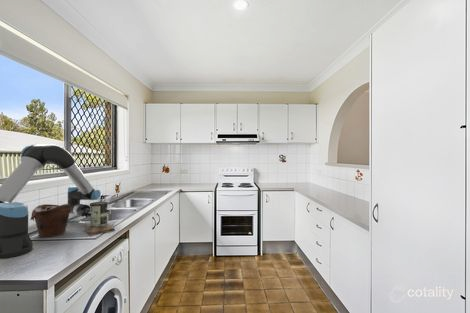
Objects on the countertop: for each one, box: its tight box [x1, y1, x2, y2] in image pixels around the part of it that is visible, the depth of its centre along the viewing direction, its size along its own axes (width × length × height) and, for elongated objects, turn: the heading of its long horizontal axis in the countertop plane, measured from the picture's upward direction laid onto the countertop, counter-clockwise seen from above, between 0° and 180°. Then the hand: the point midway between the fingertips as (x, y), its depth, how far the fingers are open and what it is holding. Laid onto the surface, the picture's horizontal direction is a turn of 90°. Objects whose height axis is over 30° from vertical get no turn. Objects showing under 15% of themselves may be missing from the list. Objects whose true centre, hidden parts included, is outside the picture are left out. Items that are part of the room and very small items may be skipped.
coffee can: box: [89, 201, 109, 227], centre depth 165 cm, size 10×10×14 cm
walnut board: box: [84, 224, 116, 236], centre depth 154 cm, size 14×11×2 cm
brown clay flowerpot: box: [29, 203, 72, 238], centre depth 149 cm, size 18×20×18 cm
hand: (103, 213), depth 163 cm, fingers closed on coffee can, 10 cm apart
